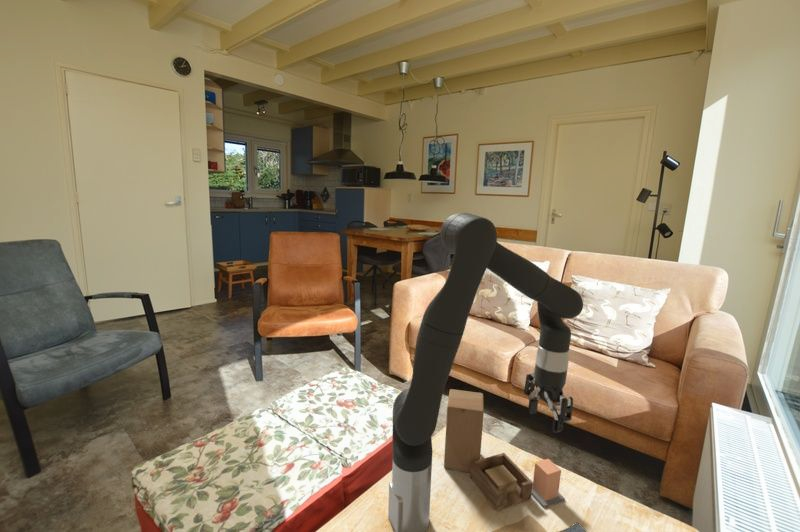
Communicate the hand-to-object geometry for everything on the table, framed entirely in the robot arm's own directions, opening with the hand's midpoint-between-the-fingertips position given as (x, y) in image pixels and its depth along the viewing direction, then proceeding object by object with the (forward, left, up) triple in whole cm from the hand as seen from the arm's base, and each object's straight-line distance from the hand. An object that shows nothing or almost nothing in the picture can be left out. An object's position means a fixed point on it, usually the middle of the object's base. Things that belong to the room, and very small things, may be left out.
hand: (543, 422), depth 98 cm
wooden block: (-13, +17, -21) cm, 30 cm away
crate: (-9, +4, -21) cm, 23 cm away
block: (+1, -2, -20) cm, 20 cm away
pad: (+1, -2, -21) cm, 21 cm away
